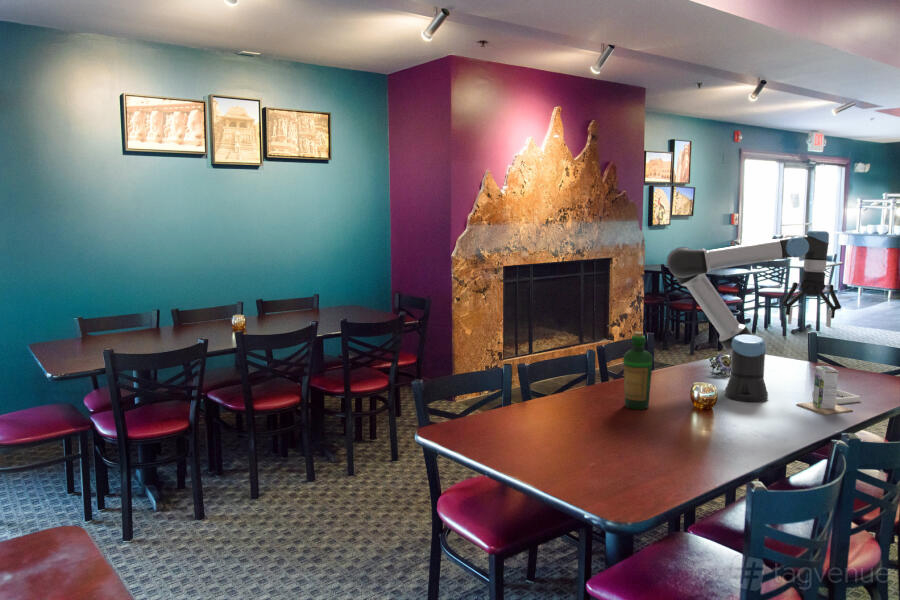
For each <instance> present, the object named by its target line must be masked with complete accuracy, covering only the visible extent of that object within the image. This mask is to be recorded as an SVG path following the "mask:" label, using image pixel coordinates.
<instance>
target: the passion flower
mask: <svg viewBox="0 0 900 600" xmlns="http://www.w3.org/2000/svg"><path fill="white" fill-rule="evenodd" d="M709 362H710V364H711V365H710V366H709V367H710V368H712V371H714V370H716V372H717V371H719V372H720V374H721V375H722V376H725V377H730V373H731V357H730V356H729V355H726V353H724V354H723V353H720V352H719V351H716V355H715V357H713V356H711V357H710V358H709Z"/></svg>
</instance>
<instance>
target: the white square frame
mask: <svg viewBox="0 0 900 600" xmlns="http://www.w3.org/2000/svg"><path fill="white" fill-rule="evenodd" d="M813 392H814V390H812V392H811V393H812V394H811V396H812V397H813ZM836 394H837V395H836V396H838V395H839V397H836V404H837V405H843V404H852V403H860V402H861V398H862V397H861V396H860V395H857V394H853V393H851V392H847V391H844V390H840V389H838V388H837V393H836ZM842 396H843V397H842Z"/></svg>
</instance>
